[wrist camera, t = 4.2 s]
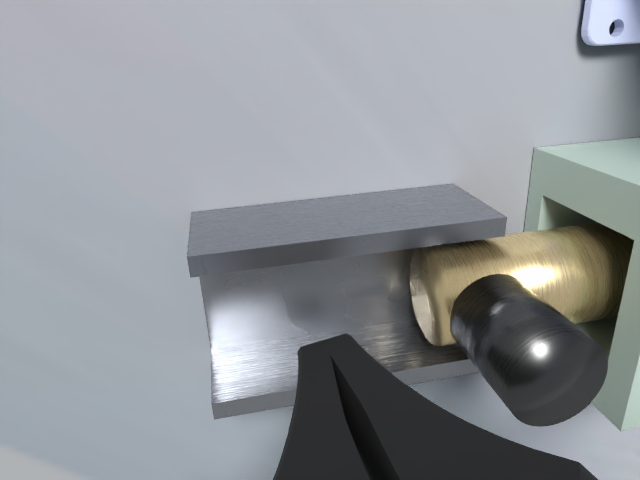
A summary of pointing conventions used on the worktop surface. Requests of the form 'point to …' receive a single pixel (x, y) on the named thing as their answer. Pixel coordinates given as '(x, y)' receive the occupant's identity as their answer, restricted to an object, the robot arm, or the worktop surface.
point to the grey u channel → (323, 285)
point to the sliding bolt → (526, 311)
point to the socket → (616, 213)
